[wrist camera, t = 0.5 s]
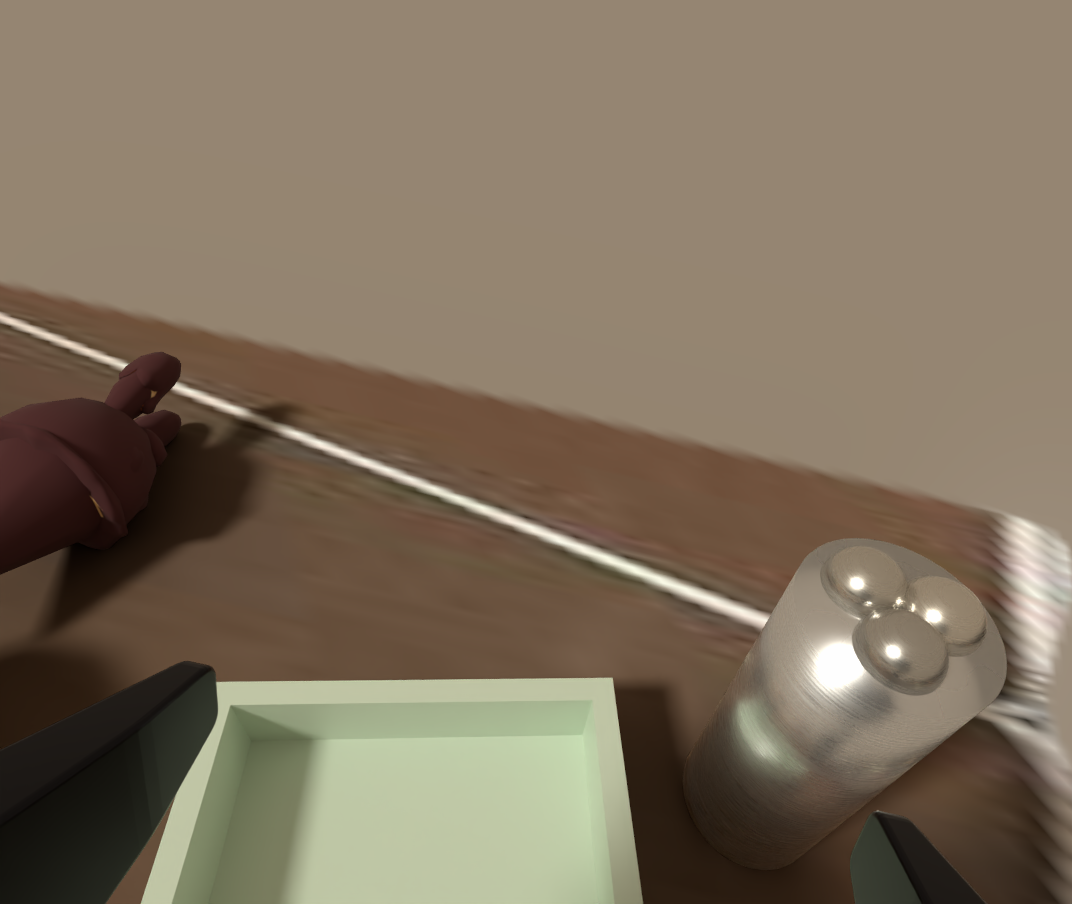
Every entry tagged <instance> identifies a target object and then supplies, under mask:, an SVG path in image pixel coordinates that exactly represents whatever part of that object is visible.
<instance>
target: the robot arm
mask: <svg viewBox="0 0 1072 904" xmlns="http://www.w3.org/2000/svg"><path fill="white" fill-rule="evenodd" d="M217 716H218V698H217V685H216V674H215V671H214V669H213V668H212V667H211V666H209V665H205V664H200V663H196V662H191V661H183V662H180V663H177V664H175V665H173V666H171V667H169V668H167V669H165V670H163V671H161V672H159V673H157V674H155V675H153V676H151V677H149V678H147V679H145V680H143V681H140V682H138V683H136V684H134V685H132V686H130V687H128V688H126V689H124V690H122V691H120V692H118V693H116V694H114V695H112V696H110V697H108V698H106V699H104V700H101V701H99V702H97V703H95V704H93V705H91V706H89V707H87V708H85V709H83V710H81V711H79V712H77V713H75V714H73V715H71V716H69V717H67V718H65V719H62V720H60V721H58V722H56V723H54V724H52V725H50V726H48V727H46V728H44V729H42V730H40V731H38V732H36V733H34V734H32V735H30V736H28V737H26V738H23V739H21V740H19V741H17V742H15V743H13V744H11V745H9V746H7V747H5V748H3V749H1V750H0V904H106V902H107V901H108V900H109V898H110V897H111V895H112V894H113V892H114V891H115V889H116V888H117V887H118V885H119V884H120V882H121V881H122V879H123V878H124V876H125V875H126V873H127V872H128V871H129V869H130V868H131V866H132V865H133V863H134V862H135V860H136V859H137V858H138V856H139V855H140V853H141V852H142V850H143V849H144V847H145V846H146V844H147V843H148V841H149V840H150V838H151V837H152V835H153V833H154V832H155V830H156V828H157V827H158V825H159V823H160V822H161V820H162V818H163V817H164V815H165V813H166V811H167V810H168V808H169V806H170V804H171V802H172V801H173V799H174V797H175V795H176V794H177V792H178V790H179V788H180V786H181V785H182V783H183V781H184V779H185V778H186V776H187V774H188V772H189V770H190V769H191V767H192V765H193V763H194V762H195V760H196V758H197V756H198V754H199V753H200V751H201V749H202V747H203V745H204V744H205V742H206V740H207V738H208V737H209V735H210V733H211V731H212V729H213V727H214V725H215V723H216V720H217ZM850 872H851V879H852V886H853V893H854V899H855V904H987V903H986V902H985V901H984V900H983V899H982V898H981V897H980V896H979V894H978V893H977V892H976V891H975V890H974V889H973V888H972V887H971V886H970V885H969V883H968V882H967V881H966V880H965V879H964V878H963V877H962V876H961V875H960V874H959V873H958V871H957V870H956V869H955V868H954V867H953V866H952V865H951V864H950V863H949V862H948V860H947V859H946V858H945V857H944V856H943V855H942V854H941V853H940V852H939V851H938V849H937V848H936V847H935V846H934V845H933V844H932V843H931V842H930V841H929V840H928V839H927V837H926V836H925V835H924V834H923V833H922V832H921V831H920V830H919V829H918V828H917V826H916V825H915V824H914V823H913V822H912V821H910V820H909V819H908V818H906V817H904V816H900V815H895V814H891V813H886V812H881V811H874V812H872V813H871V814H870V815H869V817H868V818H867V821H866V823H865V825H864V827H863V829H862V831H861V833H860V836H859V838H858V840H857V842H856V844H855V846H854V848H853V851H852V854H851V859H850Z"/></svg>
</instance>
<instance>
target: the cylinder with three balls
mask: <svg viewBox="0 0 1072 904" xmlns="http://www.w3.org/2000/svg"><path fill="white" fill-rule="evenodd" d="M1006 671H1007V660H1006V652H1005V648H1004V644H1003V641H1002V638H1001V636H1000V633H999V631H998V629H997V627H996V625H995V623H994V621H993V620H992V618H991V616H990V615H989V613H988V612H987V611H986V609H985V608H984V606H983V605H982V604H981V602H980V600H979V599H978V598H977V596H976V595H975V594H974V593H973V592H972V591H971V590H969V589H968V588H967V587H966V586H965V585H963V584H962V583H961V582H960V581H959V580H958V579H956V578H955V577H954V576H953V575H951V574H950V573H949V572H947V571H946V570H945V569H943V568H942V567H940V566H939V565H937V564H936V563H934V562H932V561H931V560H929V559H927V558H925V557H923V556H921V555H919V554H917V553H915V552H913V551H911V550H908V549H906V548H903V547H900V546H897V545H894V544H891V543H887V542H883V541H878V540H872V539H861V538H852V539H842V540H836V541H833V542H829V543H826V544H824V545H822V546H820V547H818V548H816V549H815V550H814V551H812V552H811V553H810V554H809V555H808V556H807V557H806V558H805V559H804V560H803V562H802V564H801V565H800V567H799V568H798V570H797V572H796V574H795V575H794V577H793V579H792V580H791V582H790V584H789V585H788V587H787V589H786V590H785V592H784V594H783V596H782V597H781V599H780V601H779V602H778V604H777V606H776V607H775V609H774V611H773V612H772V614H771V616H770V618H769V619H768V621H767V623H766V624H765V626H764V628H763V629H762V631H761V633H760V634H759V636H758V638H757V640H756V641H755V643H754V645H753V646H752V648H751V650H750V651H749V653H748V655H747V657H746V658H745V660H744V662H743V663H742V665H741V667H740V668H739V670H738V672H737V673H736V675H735V677H734V679H733V680H732V682H731V684H730V685H729V687H728V689H727V690H726V692H725V694H724V695H723V697H722V699H721V701H720V702H719V704H718V706H717V707H716V709H715V711H714V712H713V714H712V716H711V718H710V719H709V721H708V723H707V724H706V726H705V728H704V729H703V731H702V733H701V734H700V736H699V738H698V740H697V741H696V743H695V745H694V746H693V748H692V750H691V751H690V753H689V755H688V757H687V760H686V763H685V766H684V771H683V792H684V798H685V802H686V806H687V808H688V811H689V814H690V816H691V818H692V820H693V822H694V824H695V825H696V827H697V829H698V830H699V832H700V833H701V834H702V836H703V837H704V838H705V839H706V841H707V842H708V843H709V844H710V845H711V846H712V847H713V848H714V849H716V850H717V851H718V852H719V853H720V854H722V855H723V856H725V857H726V858H728V859H729V860H731V861H733V862H735V863H737V864H739V865H742V866H745V867H748V868H752V869H757V870H774V869H779V868H782V867H785V866H787V865H789V864H791V863H793V862H794V861H796V860H797V859H798V858H800V857H801V856H802V855H803V854H805V853H806V852H807V851H808V850H809V849H811V848H812V847H813V846H814V845H816V844H817V843H818V842H819V841H821V840H822V839H823V838H824V837H826V836H827V835H828V834H829V833H831V832H832V831H833V830H834V829H836V828H837V827H838V826H839V825H841V824H842V823H843V822H844V821H845V820H847V819H848V818H849V817H850V816H852V815H853V814H854V813H855V812H857V811H858V810H859V809H860V808H862V807H863V806H864V805H865V804H867V803H868V802H869V801H870V800H872V799H873V798H874V797H875V796H877V795H878V794H879V793H880V792H882V791H883V790H884V789H885V788H886V787H888V786H889V785H890V784H891V783H893V782H894V781H895V780H896V779H898V778H899V777H900V776H901V775H903V774H904V773H905V772H906V771H908V770H909V769H910V768H911V767H913V766H914V765H915V764H916V763H918V762H919V761H920V760H921V759H922V758H924V757H925V756H926V755H927V754H929V753H930V752H931V751H932V750H934V749H935V748H936V747H937V746H939V745H940V744H941V743H942V742H944V741H945V740H946V739H947V738H949V737H950V736H951V735H952V734H954V733H955V732H956V731H957V730H958V729H960V728H961V727H962V726H963V725H965V724H966V723H967V722H968V721H970V720H971V719H972V718H973V717H975V716H976V715H977V714H978V713H980V712H981V711H982V710H983V709H985V708H986V707H987V706H988V705H990V704H991V703H992V702H993V701H994V699H995V698H996V697H997V696H998V695H999V693H1000V691H1001V689H1002V687H1003V685H1004V682H1005V678H1006Z"/></svg>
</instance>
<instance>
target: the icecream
mask: <svg viewBox="0 0 1072 904" xmlns="http://www.w3.org/2000/svg"><path fill="white" fill-rule="evenodd" d="M180 372H181V363H180V361H179V360H178V359H177V358H175V357H173V356H171V355H168V354H166V353H164V352H155V353H151V354H147V355H143V356H140V357H139V358H137V359H136V360H134V361H133V362H132V363H130V364H129V365H127V366H126V367H125V368H124V369H123V370H122V372H121V373H120V374H119V381H118V382H117V383H116V384H115V385H114V386H113V388H112V390H111V392H110V394H109V395H108V397H107V399H106V401H105V403H103V402H99V401H95V400H90V399H85V398H75V399H68V400H60V401H52V402H45V403H38V404H30V405H27V406H25V407H22V408H20V409H18V410H16V411H14V412H11V413H9V414H7V415H5V416H2V417H1V418H0V574H3V573H5V572H8V571H10V570H12V569H15V568H17V567H20V566H22V565H24V564H27V563H29V562H31V561H34V560H36V559H39V558H41V557H43V556H46V555H48V554H50V553H53V552H55V551H58V550H60V549H62V548H65V547H67V546H70V545H72V544H74V543H77V542H79V543H81V544H83V545H85V546H88V547H91V548H94V549H102V550H105V549H108V548H111V547H112V546H113V545H114V544H115V543H116V542H117V541H118V540H119V539H120V538H121V537H124V536H126V535H128V529H127V526H126V525H127V524H128V523H129V522H130V521H131V520H132V519H133V518H134V517H135V515H136V514H137V513H138V512H139V511H141V510H143V509H144V508H146V507H147V503H148V500H149V497H148V493H149V491H150V489H151V486H152V483H153V480H154V477H155V474H156V467H158V466H161V464H162V463H163V461H164V460H165V458H166V457H167V452H166V450H165V446H166V445H167V444H168V443H169V442H171V441H172V440H173V439H174V438H175V437H176V435H177V433H178V431H179V429H180V427H181V419H180V417H179V415H177V414H175V413H173V412H170V411H167V410H161V411H158V412H155V413H152V412H154V409H155V407H156V405H157V404H158V402H159V401H160V400H161V398H162V397H163V396H164V395H165V394H166V393H167V392H168V391H169V390H170V389H171V388H172V387H173V386H174V385H175V383H176V382H177V380H178V379H179V377H180ZM142 413H144V414H148V415H145V416H142V417H139V418H137V419H135V420H133V419H134V418H136V417H138V416H139V415H141V414H142ZM150 413H151V414H150Z"/></svg>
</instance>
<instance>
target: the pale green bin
mask: <svg viewBox="0 0 1072 904" xmlns="http://www.w3.org/2000/svg"><path fill="white" fill-rule="evenodd" d="M216 685H217V698H218V716H217V720H216V723H215V725H214V727H213V729H212V731H211V733H210V735H209V737H208V738H207V740H206V742H205V744H204V745H203V747H202V749H201V751H200V753H199V754H198V756H197V758H196V760H195V762H194V763H193V765H192V767H191V769H190V770H189V772H188V774H187V776H186V778H185V779H184V781H183V783H182V785H181V786H180V788H179V790H178V792H177V794H176V797H175V800H174V803H173V806H172V809H171V812H170V815H169V818H168V822H167V825H166V828H165V831H164V834H163V837H162V840H161V843H160V846H159V849H158V852H157V856H156V859H155V862H154V865H153V868H152V871H151V874H150V877H149V880H148V883H147V886H146V890H145V893H144V896H143V899H142V902H141V904H643V900H642V892H641V885H640V877H639V870H638V863H637V855H636V848H635V841H634V833H633V826H632V818H631V811H630V804H629V796H628V789H627V782H626V774H625V767H624V759H623V752H622V745H621V737H620V730H619V723H618V715H617V708H616V701H615V693H614V686H613V678H552V679H458V680H364V681H270V682H216Z"/></svg>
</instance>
